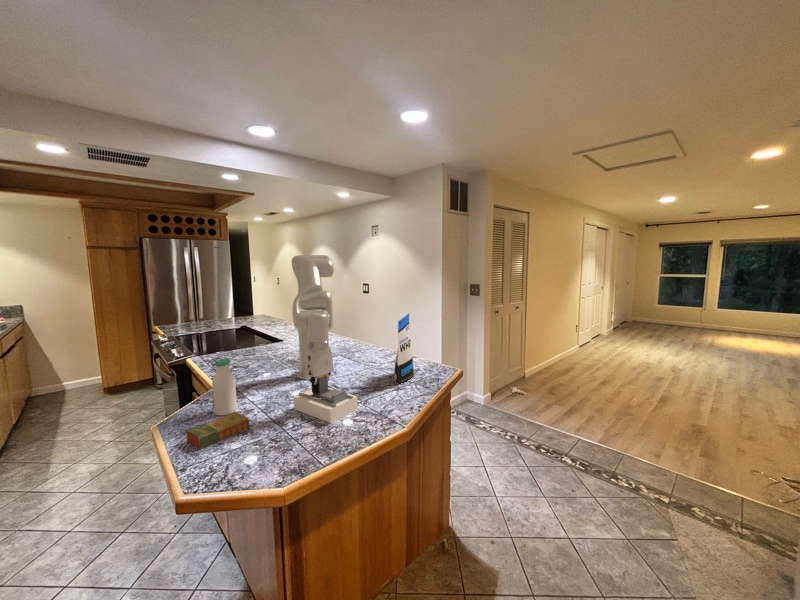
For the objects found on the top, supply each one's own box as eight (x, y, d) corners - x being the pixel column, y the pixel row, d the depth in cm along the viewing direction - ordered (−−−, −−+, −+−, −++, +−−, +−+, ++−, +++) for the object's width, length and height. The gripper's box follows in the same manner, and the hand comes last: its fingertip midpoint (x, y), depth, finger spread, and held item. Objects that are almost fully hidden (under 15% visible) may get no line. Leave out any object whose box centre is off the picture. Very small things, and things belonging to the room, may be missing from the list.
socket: (294, 409, 127) (293, 394, 126) (321, 396, 138) (321, 383, 138) (330, 423, 116) (330, 407, 115) (357, 408, 127) (357, 394, 126)
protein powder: (388, 384, 152) (388, 321, 148) (400, 368, 175) (400, 313, 172) (408, 386, 150) (408, 322, 146) (417, 369, 173) (418, 313, 170)
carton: (249, 429, 112) (248, 417, 112) (199, 451, 99) (198, 438, 99) (236, 422, 117) (235, 410, 116) (186, 442, 104) (185, 430, 103)
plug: (319, 401, 125) (319, 374, 124) (311, 398, 127) (310, 372, 126) (328, 397, 129) (328, 371, 127) (320, 394, 131) (320, 368, 130)
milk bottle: (241, 408, 127) (238, 358, 125) (225, 417, 120) (221, 364, 118) (226, 405, 130) (223, 356, 127) (209, 414, 122) (205, 362, 120)
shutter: (320, 400, 123) (320, 392, 122) (334, 393, 128) (334, 386, 128) (334, 404, 119) (333, 396, 118) (347, 398, 125) (347, 390, 124)
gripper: (307, 351, 117) (309, 400, 119) (341, 342, 130) (342, 386, 132) (294, 348, 121) (296, 396, 123) (328, 339, 135) (329, 382, 137)
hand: (320, 390), depth 128 cm, fingers closed on plug, 4 cm apart
